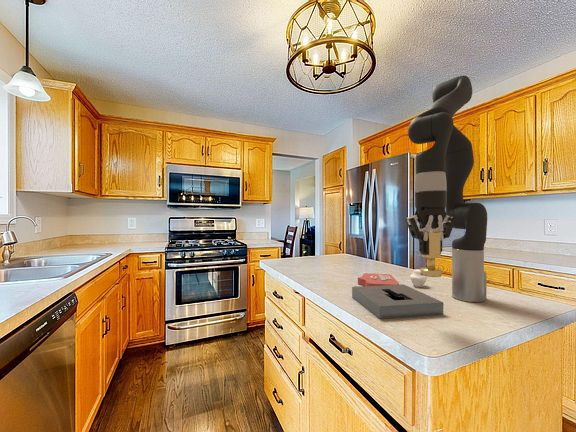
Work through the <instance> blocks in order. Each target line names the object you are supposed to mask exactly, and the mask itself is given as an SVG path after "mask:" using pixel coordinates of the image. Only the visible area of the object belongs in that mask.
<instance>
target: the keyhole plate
mask: <svg viewBox="0 0 576 432" xmlns="http://www.w3.org/2000/svg"><path fill="white" fill-rule="evenodd" d="M351 297H352V298H353V299H354V300H355V301H357V302H358V304H361V306H363V308H365V309H366V310H368V311H369V312H370V313H371V314H372V315H374V316H376V318H378V319H379V320H384V319H397V318H398V319H401V318H413V317H429V316H442V315H444V301H441V300H439V299H437V298H436V297H435V298H434V297H432V296H430V295H428V294H427V293H426V294H425V293H424V292H421V291H419V290H417V289H415V288H413V287H410V286H409V285H407V284H404V283H403V284H399V285H382V286H362V285H361V286H351ZM391 297H395V298H403V299H400V300H398V299H396V300H395V299H392V298H391Z"/></svg>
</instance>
